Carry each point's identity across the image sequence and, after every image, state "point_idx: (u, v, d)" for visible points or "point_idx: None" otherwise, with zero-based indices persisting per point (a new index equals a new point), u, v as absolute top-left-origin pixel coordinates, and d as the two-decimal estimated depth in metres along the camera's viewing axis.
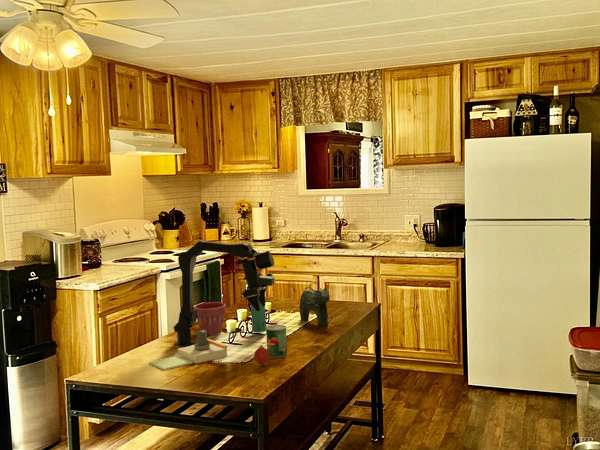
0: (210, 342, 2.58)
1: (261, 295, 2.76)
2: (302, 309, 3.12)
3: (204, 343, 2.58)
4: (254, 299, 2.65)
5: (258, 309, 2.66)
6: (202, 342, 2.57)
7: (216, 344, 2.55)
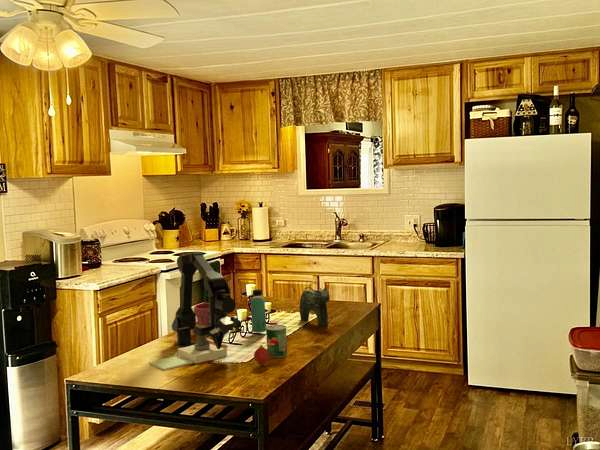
0: (210, 342, 2.58)
1: None
2: (302, 309, 3.12)
3: (204, 343, 2.58)
4: (215, 336, 2.51)
5: (217, 347, 2.52)
6: (202, 342, 2.57)
7: None
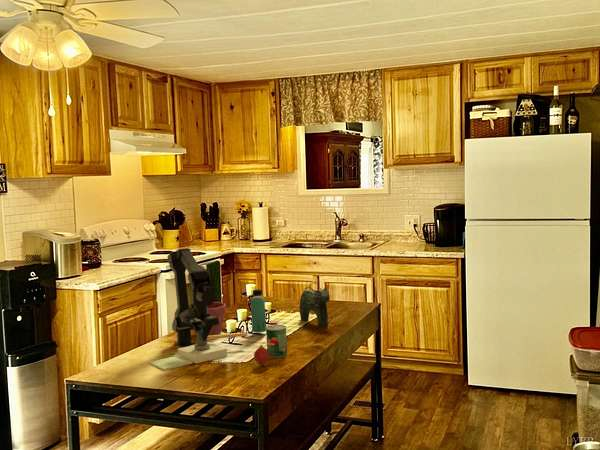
0: (222, 336, 2.67)
1: None
2: (302, 309, 3.12)
3: (204, 343, 2.58)
4: None
5: None
6: (202, 342, 2.57)
7: (233, 335, 2.68)
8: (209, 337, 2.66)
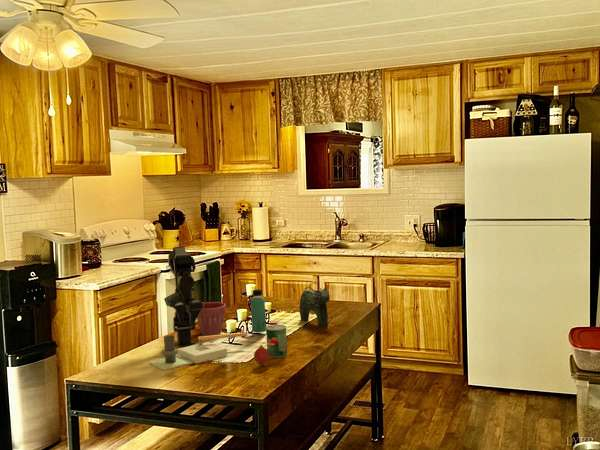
0: (222, 336, 2.67)
1: None
2: (302, 309, 3.12)
3: (172, 349, 2.49)
4: None
5: None
6: (169, 347, 2.48)
7: (233, 335, 2.68)
8: (209, 337, 2.66)
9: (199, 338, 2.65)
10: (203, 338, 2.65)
